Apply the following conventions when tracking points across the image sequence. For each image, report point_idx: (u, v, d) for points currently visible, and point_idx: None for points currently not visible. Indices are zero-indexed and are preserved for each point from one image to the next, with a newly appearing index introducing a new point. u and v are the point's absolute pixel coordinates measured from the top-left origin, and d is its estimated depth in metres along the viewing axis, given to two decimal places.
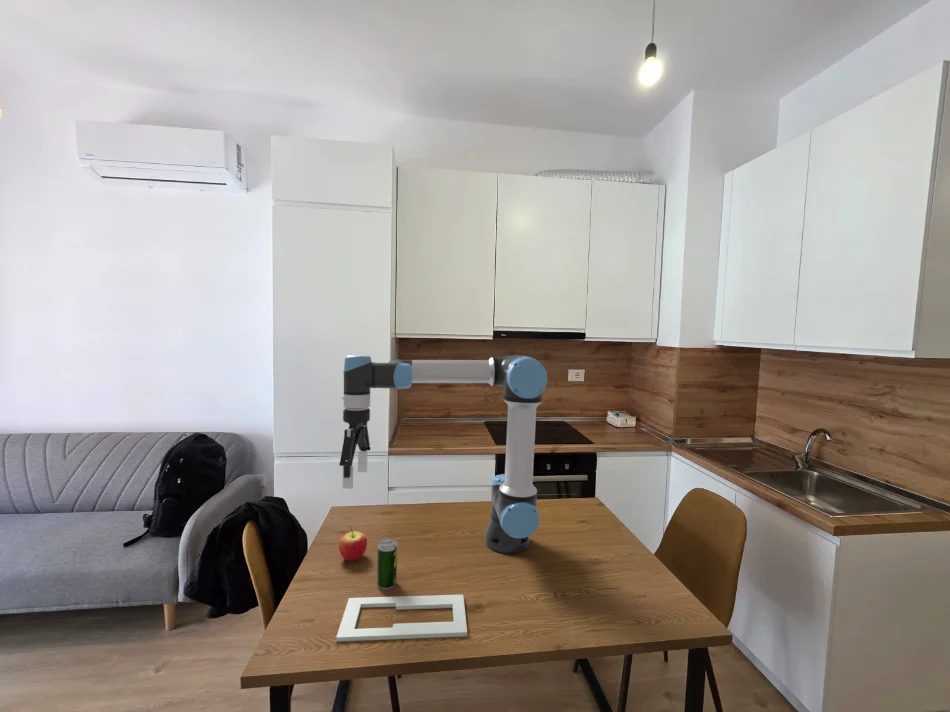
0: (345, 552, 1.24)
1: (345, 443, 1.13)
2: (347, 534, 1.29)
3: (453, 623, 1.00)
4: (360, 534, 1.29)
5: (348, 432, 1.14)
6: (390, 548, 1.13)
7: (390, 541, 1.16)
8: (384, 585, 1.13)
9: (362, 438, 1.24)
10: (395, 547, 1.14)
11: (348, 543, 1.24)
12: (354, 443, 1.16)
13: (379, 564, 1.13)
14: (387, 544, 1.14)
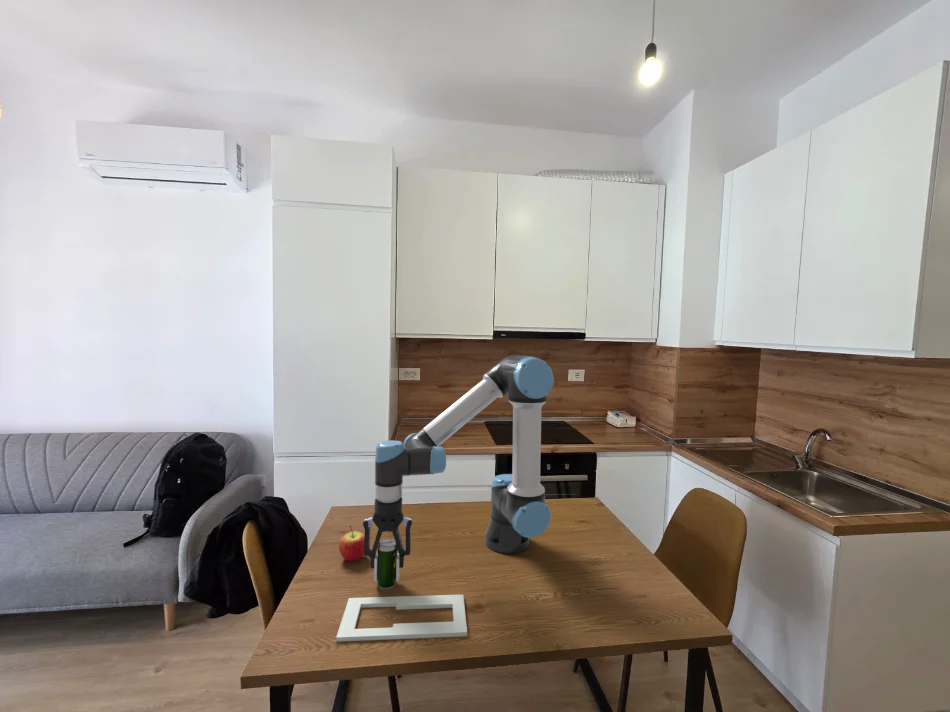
0: (345, 552, 1.24)
1: None
2: (347, 534, 1.29)
3: (453, 623, 1.00)
4: (360, 534, 1.29)
5: None
6: (390, 548, 1.13)
7: (390, 541, 1.16)
8: (384, 585, 1.13)
9: None
10: (395, 547, 1.14)
11: (348, 543, 1.24)
12: None
13: (379, 563, 1.13)
14: (387, 544, 1.14)
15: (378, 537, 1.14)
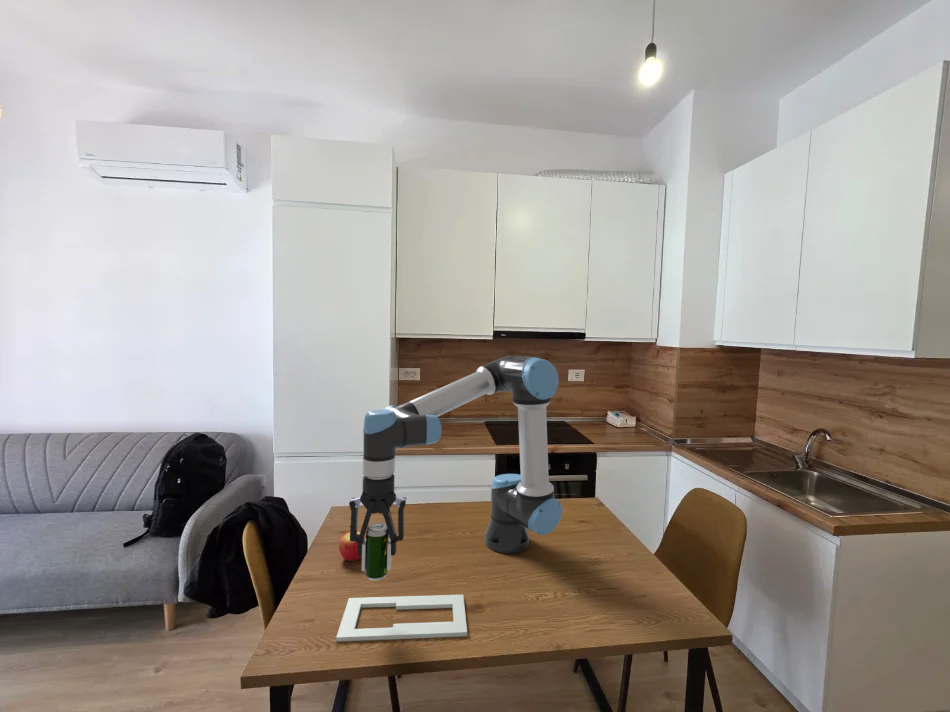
0: (345, 552, 1.24)
1: None
2: (347, 534, 1.29)
3: (453, 623, 1.00)
4: None
5: None
6: (380, 533, 0.98)
7: (380, 525, 1.02)
8: (373, 575, 0.98)
9: None
10: (386, 532, 1.00)
11: (348, 543, 1.24)
12: None
13: (368, 551, 0.99)
14: (377, 528, 1.00)
15: (366, 520, 0.99)
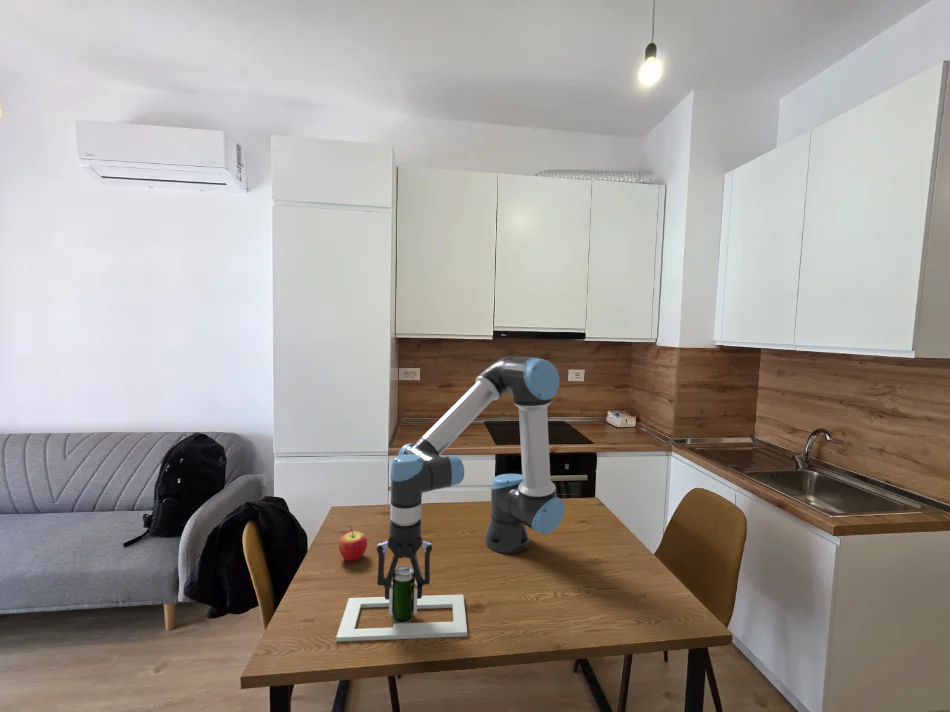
0: (345, 552, 1.24)
1: None
2: (347, 534, 1.29)
3: (453, 623, 1.00)
4: (360, 534, 1.29)
5: None
6: (407, 577, 1.00)
7: (407, 568, 1.03)
8: (400, 619, 1.00)
9: None
10: (413, 576, 1.01)
11: (348, 543, 1.24)
12: (392, 562, 1.01)
13: (395, 595, 1.00)
14: (404, 572, 1.01)
15: (394, 564, 1.00)
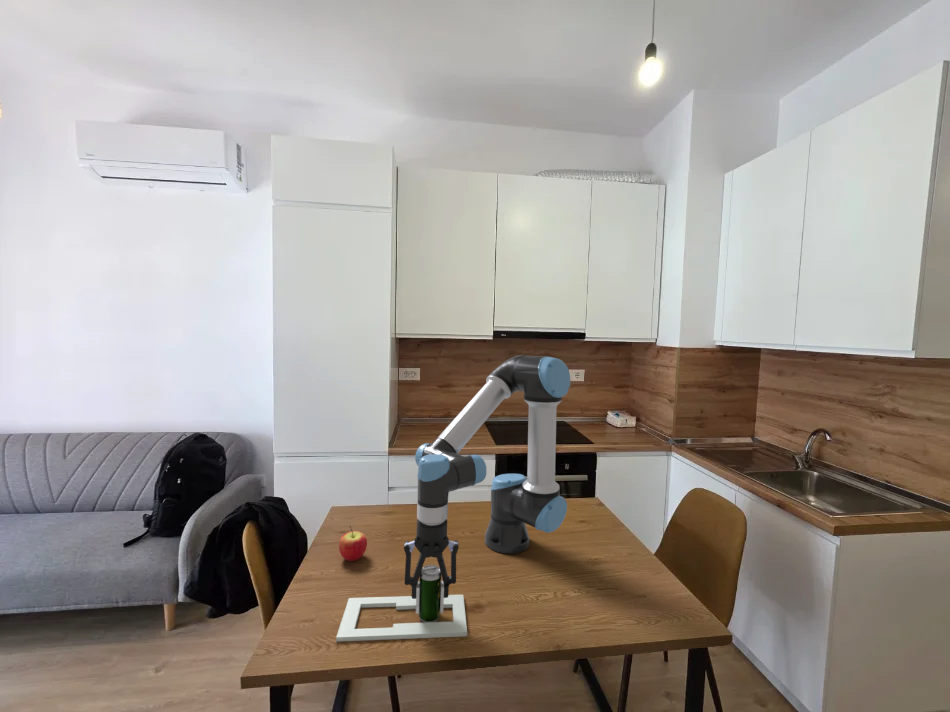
0: (345, 552, 1.24)
1: None
2: (347, 534, 1.29)
3: (453, 623, 1.00)
4: (360, 534, 1.29)
5: None
6: (434, 577, 1.00)
7: (433, 568, 1.04)
8: (428, 618, 1.00)
9: (438, 561, 1.02)
10: (439, 575, 1.02)
11: (348, 543, 1.24)
12: (419, 561, 1.01)
13: (422, 594, 1.01)
14: (430, 572, 1.02)
15: (421, 564, 1.01)
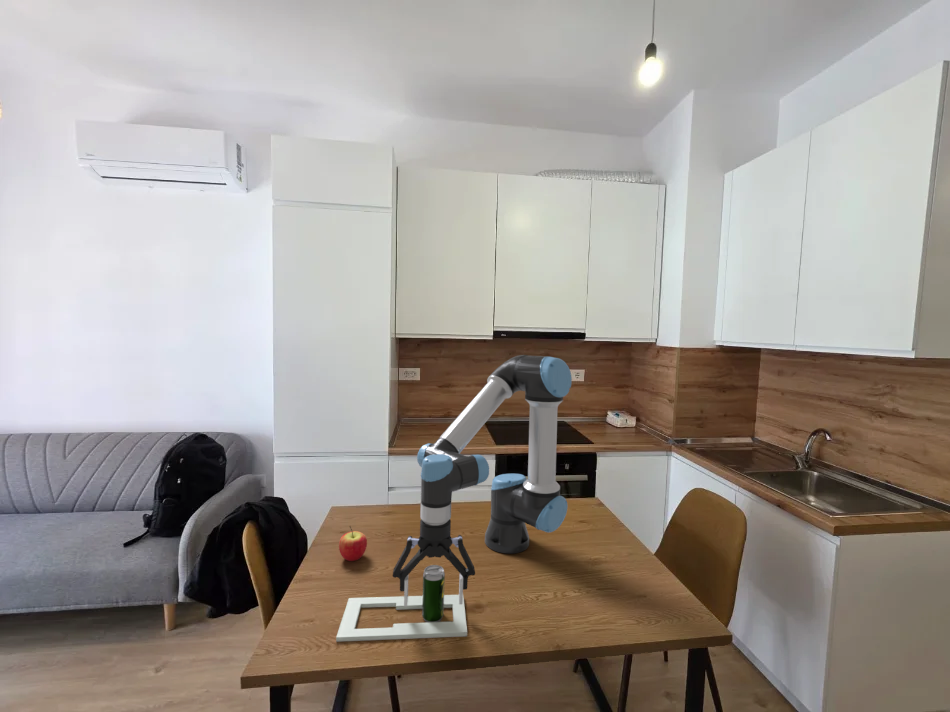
0: (345, 552, 1.24)
1: (403, 551, 1.02)
2: (347, 534, 1.29)
3: (453, 623, 1.00)
4: (360, 534, 1.29)
5: (407, 541, 1.01)
6: (438, 577, 1.01)
7: (436, 568, 1.04)
8: (431, 618, 1.01)
9: None
10: (443, 575, 1.02)
11: (348, 543, 1.24)
12: (416, 557, 1.01)
13: (426, 594, 1.01)
14: (434, 572, 1.02)
15: (417, 560, 1.01)
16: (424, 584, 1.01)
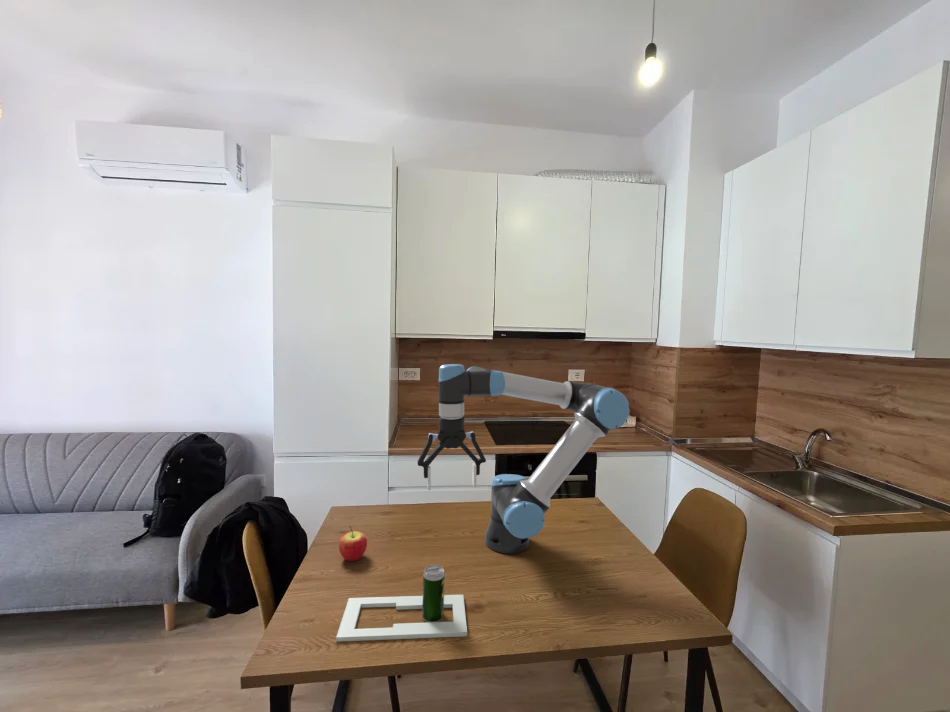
0: (345, 552, 1.24)
1: (425, 445, 1.22)
2: (347, 534, 1.29)
3: (453, 623, 1.00)
4: (360, 534, 1.29)
5: (428, 436, 1.21)
6: (438, 577, 1.01)
7: (436, 568, 1.04)
8: (431, 618, 1.01)
9: (463, 449, 1.22)
10: (443, 575, 1.02)
11: (348, 543, 1.24)
12: (437, 448, 1.21)
13: (426, 594, 1.01)
14: (434, 572, 1.02)
15: (438, 451, 1.21)
16: (424, 584, 1.01)
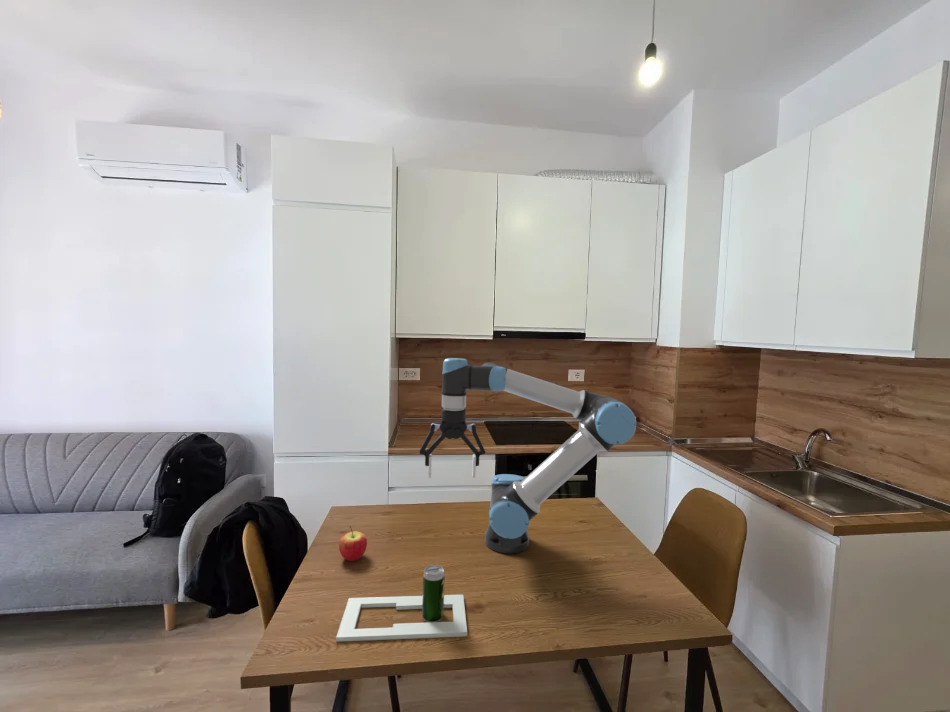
0: (345, 552, 1.24)
1: (428, 434, 1.27)
2: (347, 534, 1.29)
3: (453, 623, 1.00)
4: (360, 534, 1.29)
5: None
6: (438, 577, 1.01)
7: (436, 568, 1.04)
8: (431, 618, 1.01)
9: None
10: (443, 575, 1.02)
11: (348, 543, 1.24)
12: (438, 438, 1.26)
13: (426, 594, 1.01)
14: (434, 572, 1.02)
15: (439, 441, 1.26)
16: (424, 584, 1.01)
